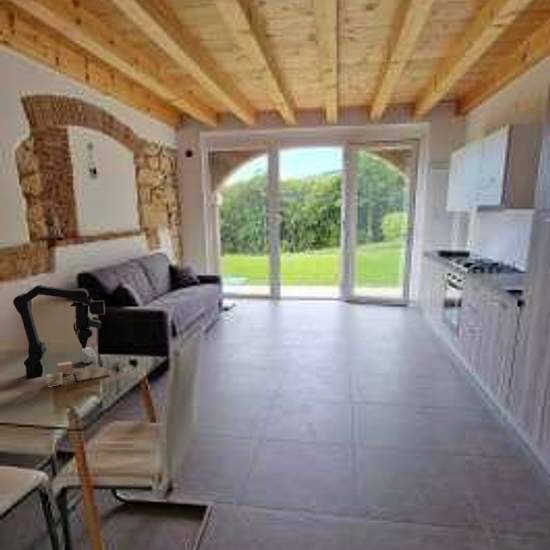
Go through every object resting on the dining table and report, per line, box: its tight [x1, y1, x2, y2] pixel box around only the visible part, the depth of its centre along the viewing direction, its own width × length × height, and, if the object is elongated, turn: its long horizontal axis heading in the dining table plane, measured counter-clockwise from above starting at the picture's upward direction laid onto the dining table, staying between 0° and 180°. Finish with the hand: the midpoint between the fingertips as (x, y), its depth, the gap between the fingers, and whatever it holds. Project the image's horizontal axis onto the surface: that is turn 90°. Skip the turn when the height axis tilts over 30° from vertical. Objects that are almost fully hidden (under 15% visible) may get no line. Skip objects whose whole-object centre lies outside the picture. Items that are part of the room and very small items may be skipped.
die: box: [76, 346, 97, 364], centre depth 215 cm, size 8×9×10 cm
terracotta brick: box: [56, 361, 73, 375], centre depth 200 cm, size 6×4×5 cm, turn 121°
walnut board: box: [74, 366, 111, 382], centre depth 199 cm, size 14×12×1 cm
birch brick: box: [46, 372, 64, 388], centre depth 187 cm, size 6×4×5 cm, turn 121°
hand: (82, 345), depth 201 cm, fingers open, 9 cm apart
